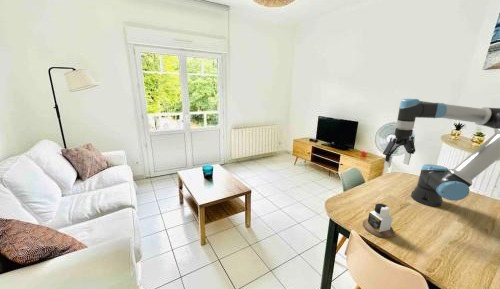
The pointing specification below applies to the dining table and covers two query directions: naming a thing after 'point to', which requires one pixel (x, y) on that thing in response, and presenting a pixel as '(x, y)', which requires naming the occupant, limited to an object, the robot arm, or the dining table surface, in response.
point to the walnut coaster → (380, 234)
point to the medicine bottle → (380, 218)
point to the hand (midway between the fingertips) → (396, 165)
